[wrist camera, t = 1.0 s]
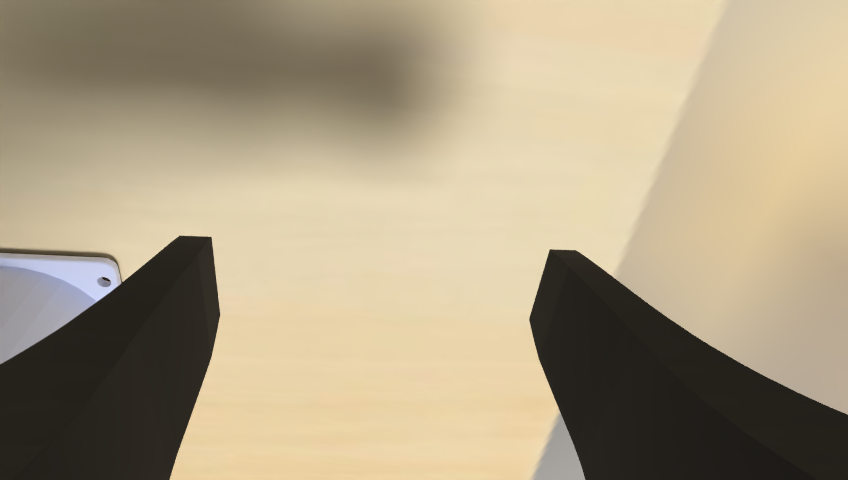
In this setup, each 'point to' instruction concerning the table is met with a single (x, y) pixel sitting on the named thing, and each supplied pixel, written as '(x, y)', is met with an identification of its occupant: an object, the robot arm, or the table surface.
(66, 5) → the table surface
